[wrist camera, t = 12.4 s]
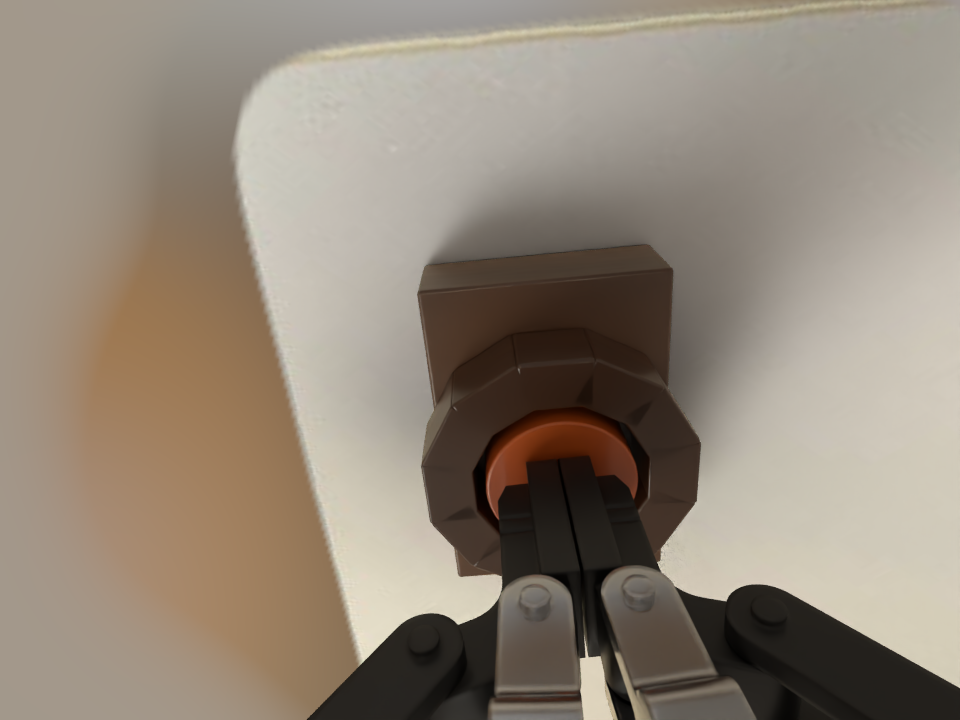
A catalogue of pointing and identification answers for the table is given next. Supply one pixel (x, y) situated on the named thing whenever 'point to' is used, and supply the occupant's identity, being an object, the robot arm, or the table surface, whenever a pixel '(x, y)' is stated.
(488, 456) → the release button
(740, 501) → the table surface
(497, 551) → the button block
